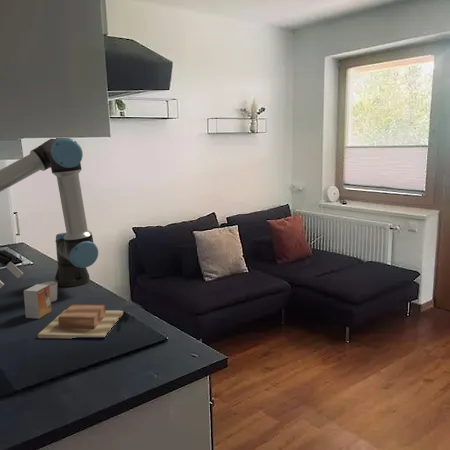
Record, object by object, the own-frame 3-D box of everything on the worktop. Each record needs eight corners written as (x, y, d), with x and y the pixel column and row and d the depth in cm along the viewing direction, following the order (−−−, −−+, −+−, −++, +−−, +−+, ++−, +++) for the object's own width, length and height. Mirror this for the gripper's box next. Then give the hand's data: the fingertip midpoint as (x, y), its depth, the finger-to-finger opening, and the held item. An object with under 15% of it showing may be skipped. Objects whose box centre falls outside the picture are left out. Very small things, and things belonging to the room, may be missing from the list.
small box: (39, 319, 162) (36, 291, 160) (25, 318, 163) (22, 290, 161) (52, 311, 170) (49, 284, 168) (38, 310, 171) (36, 283, 169)
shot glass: (36, 301, 180) (35, 285, 179) (48, 296, 187) (47, 280, 185) (51, 303, 178) (50, 286, 177) (62, 297, 185) (61, 281, 183)
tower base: (65, 312, 168) (64, 299, 167) (123, 313, 167) (122, 300, 166) (37, 337, 146) (36, 322, 145) (104, 339, 145) (103, 323, 144)
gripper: (-19, 240, 175) (22, 278, 177) (-63, 256, 151) (-15, 299, 152) (-7, 227, 174) (34, 265, 176) (-49, 240, 149) (-1, 284, 151)
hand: (11, 281), depth 164 cm, fingers open, 13 cm apart
